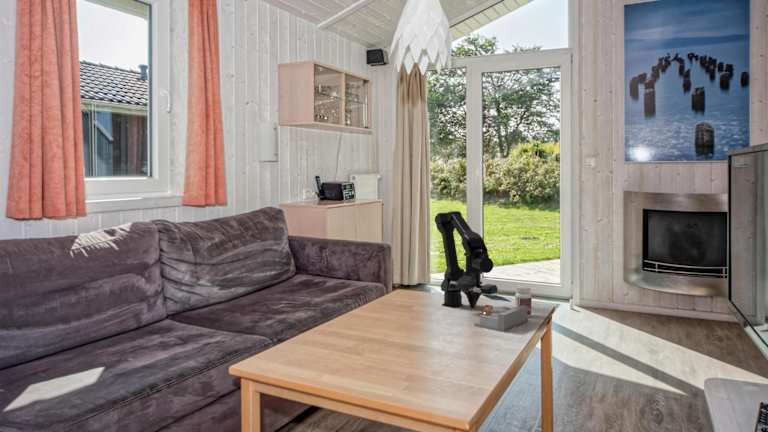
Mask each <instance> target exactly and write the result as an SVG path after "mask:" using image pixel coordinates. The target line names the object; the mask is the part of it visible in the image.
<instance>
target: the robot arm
mask: <svg viewBox="0 0 768 432" xmlns="http://www.w3.org/2000/svg"><path fill="white" fill-rule="evenodd" d="M462 215H463V214H462V212H461V211H459V210H454V211H453V210H452V211H451V210H450V211H449V212H438V213H437V214H436V215H435V216H434V223H435V225H436V229H437V231H438V232H439V233H440V234H441V237H442V244H443V251H444V257H445V265H446V269H445V272H444V274H443V278H444V279H442V280H443V281H442V282H441V284H440V291H442V292H444V295H443V296H444V298H443V299H444V300H443V302H444V303H442V304H441V306H445V307H450V308H458V307H461V306H463V305H464V303H462V302H463V299H462V298H463V295H462V293H463V294H464V295H465V296H466V298H467V301H468V304H469V307H470V309H472V310H473V309H475V308H476V305H477V303H478V301H479V298H480V297H481V296H482V295H484V294H485V295H492V294H493V295H494V294H497V293H498V289H499V288H498V287H497V285H496V284H493V283H492V284H491V283H485V284H483V281H481V275H483V274H488V273H491V271H492V270H493V269H494V261H493V259H492V258H490V255H489V253H488V248H487V245H486V243H485V241H484V238H483V237H482V236H481V235H480V234H479V233H478V232H475V231H474V230H472V228H471V227H470V225H469V224H468V223H467V222H466V220H465V219H464V217H463V216H462ZM455 230H456V232H457V233H458V235H459V236H460V238H461V245H462V248H463V250H464V251H465V252H464V253H463V256H464V257H465V269H463V268H461V267H460V265H459V261H458V255H457V254H458V253H457V248H456V241H455V233H454V231H455Z"/></svg>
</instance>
